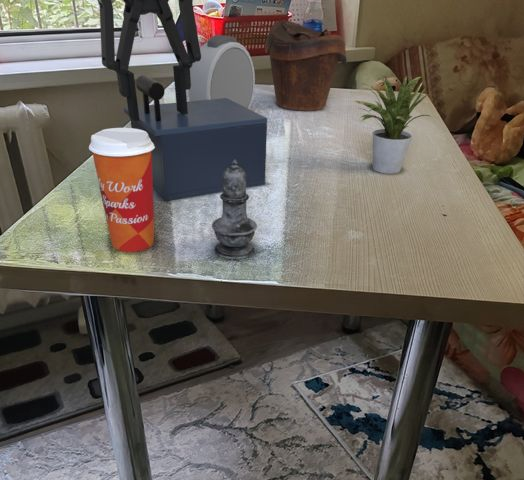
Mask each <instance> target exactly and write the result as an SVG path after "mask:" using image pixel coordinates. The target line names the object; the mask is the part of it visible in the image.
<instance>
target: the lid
mask: <svg viewBox="0 0 524 480" xmlns="http://www.w3.org/2000/svg"><path fill="white" fill-rule="evenodd" d="M135 87H136V88H137V90H138V91H139V92H141V93H142V103H143V105H138V112H139V120H140V121H136V122H138V123H139V124H140V125H142V126H143V127H144V128H146V129H147V130H148V131H149V132H151V133H152V134H153V135H155V136H161V135H170V134H178V133H187V132H196V131H204V130H213V129H221V128H230V127H238V126H247V125H256V124H264V123H266V124H268V117H266V116H263V115H262V114H260V113H258V112H256V111H254V110H251V108H250V109H248V108H246V107H244V106H242V105H240V104H238V103H236V102H233V101H231V100H229V99H227V98H221V99H210V100H199V101H190V100H188V101H187V109H188V114H184V115H183V114H182V113H180V112H178V111H177V105H176V102H168V103H167V102H166V103H160V102H161V101H160V100H162V99H163V97H164V96H165V87H164V86H163V84H161V83H160V82H158V81H157V80H155V79H153V78H152V77H149V76H148V75H145V74H141V75H139V76H138V77H137V78H136V81H135ZM150 99H152V100H153V104H150ZM123 112H124V114H125V115H127V116H128V117H129V111H128V106H124V107H123Z"/></svg>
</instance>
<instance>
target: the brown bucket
mask: <svg viewBox="0 0 524 480" xmlns="http://www.w3.org/2000/svg"><path fill="white" fill-rule="evenodd" d="M346 51H347V50H346V43H345V40H344V39H343V37H342V36H341V35H339V34H332V32H330V31H329V30H328V29H327V28H326V29H325V30H323V31H322V32H320V31H317V30H315V29H312V28H309V27H306V26H304V25H301V24H299V23H297V22H293V21H291V20H286V19H285V20H278V21H276V22H274V23H273V24H272V25H271V27H270V29H269V30H268V35H267V37H266V40H265V44H264V52H265V54H269V60H270V61H269V62H270V68H271V76H272V83H273V88H274V89H273V90H274V96H275V103H276V105H277V106H279V107H281V108H283V109H286V110H292V111H302V112H303V111H304V112H305V111H306V112H311V111H312V112H313V111H319V110H323V109H324V108H325V107H326V106H327V103H328V102H327V101H328V98H329V95H330V91H331V87H332V84H333V81H334V77H335V75H336V71H337V67H338V64H339V63H342V65H343V66H346V65H347V61H348V59H347V53H346Z"/></svg>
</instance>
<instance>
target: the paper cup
mask: <svg viewBox="0 0 524 480" xmlns="http://www.w3.org/2000/svg"><path fill="white" fill-rule="evenodd" d="M154 148H155V147H154V144H153V142H152V141H151V139H150V138H149V136H148V133H147V132H146V131H143V130H140V129H134V128H131V127H112V128H105V129H101V130H100V131H97V132H96V133H94V134H91V136H90V143H89V146H88V150H89V151H90V152H92V157H93V163H94V167H95V171H96V176H97V181H98V186H99V190H100V191H99V192H100V197H101V201H102V205H103V210H104V214H105V220H106V225H107V229H108V234H109V237H110V242H111V245H112V247H113V248H114V249H116V250H117V251H121V252H125V253H136V252H142V251H145V250H148V249H149V248H151V247H152V246H153V245H154V243H155V217H154V215H155V211H154V188H153V179H152V150H153V149H154Z"/></svg>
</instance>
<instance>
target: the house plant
mask: <svg viewBox="0 0 524 480" xmlns="http://www.w3.org/2000/svg"><path fill="white" fill-rule="evenodd" d="M376 76H378V77H379V78H380V79H381V81H382V84H383V88H384V92H385V94H384V93H383V92H382V91H380V90H379V89H377V88H375V87H373V86H372V85H370V84H367V83H364V82H359V81H357V83H359V84H362V85H365V86H367V87H370V88H371V89H370V88H367V87H363V90H364V89H366V90H368V91H370V92H372V93H373V94H374V95H375V97H376V99H377V100H378V101H377V100H374V102H375V103H376V104H374V103H371V102H368V101H360V100H354V102H355V103H357V104H359V105H363V106H365V107H367V108H368V109H369V110H367V109H365V108H361V107H360V108H359V107H358V110H359V109H360V110H363V111H366V112H367V113H369V114H363V115H362V116H360V117H359V119H361V118H362V119H361V121H360V123H362V122H363V121H365V120H369V119H371V118H374V120H378V121H379V122H380V123H381V125H382V126H383V127H382V126H380V129H376V130H373V132H372V170H373V171H375V172H377V173H381V174H386V175H387V174H390V175H392V174H393V175H394V174H398V173H400V172H401V169H402V167H403V164H404V161H405V158H406V156H407V153H408V150H409V147H410V144H411V142H412V139H413V135H412V134H411V133H410V132H408V131H405V129H407V128H408V127H409V124H410V123H411V122H412V121H414V120H415V119H418V118H420V117H431V118H432V119H433V117H432V115H429V114H420V115H417V116H415V117H413V116H412V115H410V114H411V113H412V112H413V110H414V109H415V108H416V107H417V106H418V105H419V104H420V103H421V102H422V101H423V100H425V98H426V97H428V96H429V95H430V93H427V94H426V95H424V96H422V95H423V93H424V92H425V90H426V89H427V87H425V88H423V90H422V91H421V92H420V93H419V91H420V89H421V87H422V85H423V83H424V82H423V81H421V83H420V84H419V85H418V86H417V88H416V89H415V87H416V85H417V84H418V82H419V80H421V78H422V76H417V77H414V78H413V79H412V80H410V81H409V82H408V83H407V81H408V76H409V75H408V73H407V74H406V75H405V77H404V78H403V80H402V83H401V85H400V87H399V89H398V92H397V96H396V95H395V91H394V88H393V86H392V84H391V83H390V81H389V80H388V79H387V77H386V76H384V77H383V76H381V75H380V74H378V73H376ZM372 89H373V90H374V91H375V92H376V93H377V94H376V93H375V92H374V91H373V90H372ZM414 89H415V91H414V93H413V90H414ZM418 93H419V94H418ZM417 94H418V95H417ZM377 95H378V96H377ZM421 96H422V97H421ZM415 97H416V98H415ZM380 99H381V101H382V103H383V106H384V107H383V106H382V103H381V101H380ZM414 99H415V100H414ZM413 100H414V101H413ZM370 111H373V112H376V113H377V114H379V115H380V116H381V117H380V116H377V115H374V114H370ZM412 117H413V118H412ZM379 122H377V123H378V125H380V123H379Z"/></svg>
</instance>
